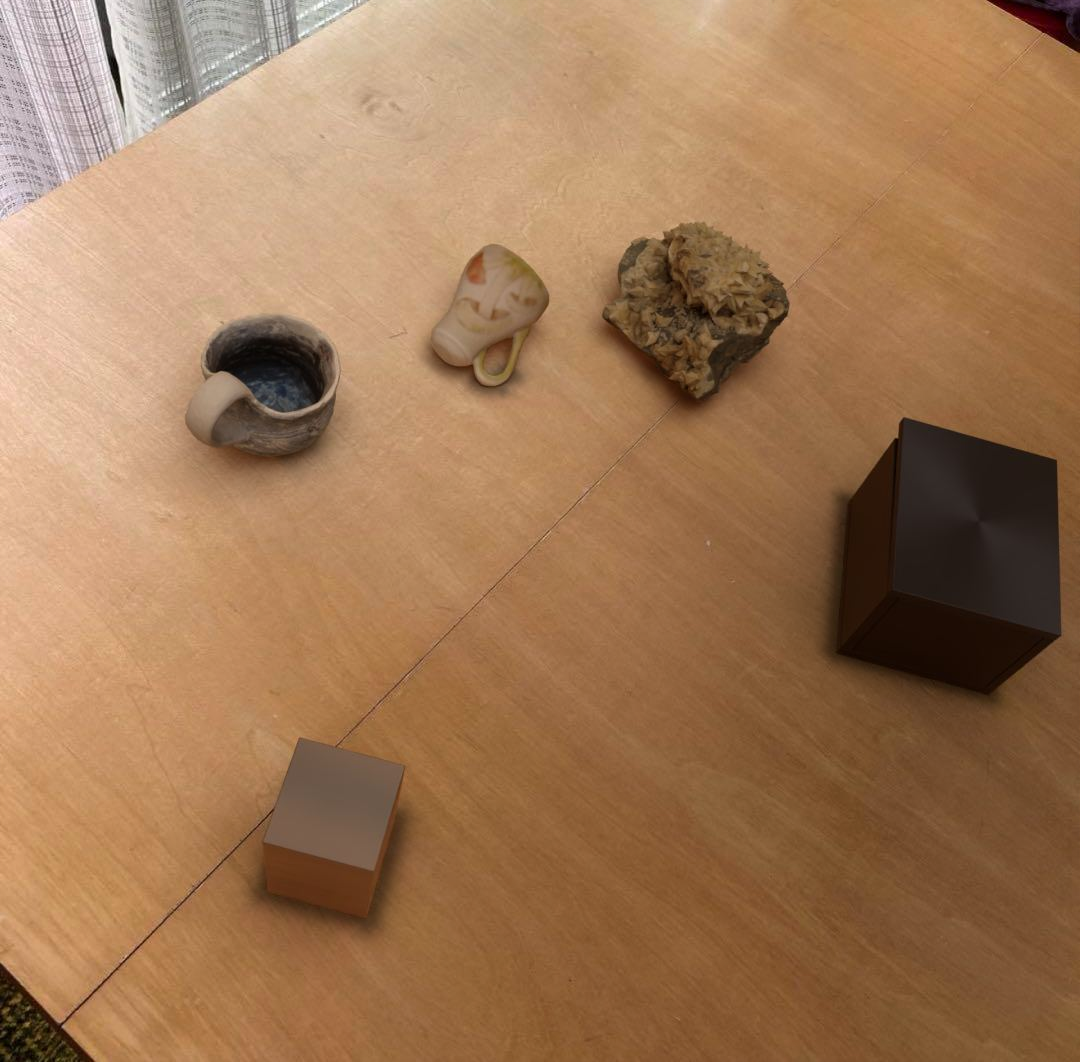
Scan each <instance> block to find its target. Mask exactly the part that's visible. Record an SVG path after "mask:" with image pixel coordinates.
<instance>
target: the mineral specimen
mask: <svg viewBox="0 0 1080 1062" xmlns="http://www.w3.org/2000/svg"><path fill="white" fill-rule="evenodd" d="M723 233H724V230H715V228H714V225H711V226H708V225H707V223H706V221H702V222H700V221H695V222H694V223H693V222H689V223H688V222H683V223H682V222H679V223H678V226H676V227H674V228H671V229H670V230H662V234H663V239H658V238H656V237H654V236H653V237H651V238H647V237H645V236H641V237H638V238H635V239H633V240H631V241H630V244H631V245H629V246H628V247H627V248H626V250H625V252H624V253H623V255H622V256H621V258H620V261H619V263H618V267H617V268H618V270H617V280H618V284H619V287H620V292H621V294H620V295H619V297H618V298H616V299H615V300H612V301H611V302H610V303H608V304H606V305H605V307H604V308H603V310H602V313H601V314H602V315H601V318H602V319H603V320H604V321H606V323H608V324H609V325H610V326H611V327H613V328H614V329H616V330H618V331H620V332H621V333H622V334H623V335H624V336H625V337H626V338H627V339H628V340H630V342H632V344H633V345H634V346H635V347H636V349H637V350H638V351H641V353H644V354H646V355H648V357H649V358H650V359H651V360H652V361H653V362H654V365H655V369H657V370H658V371H659V372H661V374H662V375H663V376H664V377H665V378H666V379H668V380H671V381H673V382H675V383H676V384H677V385H678V387H679V388H680V389H681V390H682V391H683V392H684V393H685V394H686V395H687V396H690V397H691V398H692V399H693V400H694V401H695V403H696V404H699V403H704V402H706V401H708V400H709V399H710V398H711V397H712V396H714V395H716V394H718V393H719V392H720V390H721V385H722V384H724V383H725V382H726V381H727V380H728V379H730V378H731V376H732V373H733V372H734V371H735V370H736V369H737V368H738V367H739V366H740V365H741V364H746V363H750V361H752V360H753V359H754V358H755V357H756V356H757V355H758V354H760V353H761V351H762V350H763V349H764V348H765V347H767V346H768V345H770V338H771V336H772V335H773V333H774V331H775V330H776V329H777V327H779V326H780V325H781V324H782V323H783V322H784V320H785V319H786V318H787V317H788V315H789V310H790V303H791V302H790V300H789V298H788V296H787V290H786V289H785V287H784V284H785V283H784V282H783V281H781V280H779V279H778V278H777V277H776V276H774V275H773V274H774V272H772V270H769V268H771V265H770V263H769V262H766V261H764V260H762V259H760V258H761V253H762V250H757V251H756V252H755V251H754V250H753V249H752V248H750V247H749V245H748V244H747V243H746V244H745V246H744V247H743V246H742V245H740V243H739V242H736V241H735V240H733V236H732V235H730V236H727V235H725V234H723Z"/></svg>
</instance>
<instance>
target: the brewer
mask: <svg viewBox="0 0 1080 1062" xmlns="http://www.w3.org/2000/svg"><path fill="white" fill-rule="evenodd" d="M897 447H898V437H894V439H893V440H892V441H891V443H890V444H889V445H888V447H886V449H885V451H884V452H883V454H882V455H881V456H880V458H879V460H878V461H877V462H876V464H875V465H874V466H873V467H872V469H871V471H870V472H869V473H868V474H867V476H866V477H865V479H864V480H863V482H862V483H861V484H860V486H859V487H858V488H857V490H856V491H855V493H853V495H852V497H851V498H850V499H849V501H848V502H847V511H846V521H845V523H846V524H845V537H844V538H845V539H844V548H843V563H842V576H841V588H840V600H839V601H840V603H839V614H838V616H839V617H838V630H837V641H836V654H838V655H842V656H846V657H849V658H853V659H856V660H861V661H864V662H868V663H871V664H874V665H879V666H883V667H886V668H889V669H893V670H897V671H901V672H905V673H909V674H911V675H915V676H919V677H923V678H926V679H930V680H934V681H937V682H940V683H941V682H942V683H945V684H949V685H952V686H955V687H959V688H963V689H967V690H970V691H974V692H977V693H980V694H984V695H991V694H992V693H994V691H996V690H997V689H998V688H999V687H1000V686H1001V685H1003V684H1004V683H1006V681H1008V680H1009V679H1010V678H1011V677H1012V676H1014V675H1015V674H1017V673H1018V672H1019V671H1020V670H1021V669H1022V668H1024V667H1025V666H1026V665H1027V664H1029V663H1030V662H1031V661H1032V660H1033V659H1035V658H1036V657H1037V656H1038V655H1039V654H1041V653H1042V652H1043V651H1044V650H1046V649H1047V648H1048V647H1049V646H1051V645H1052V644H1053V643H1054V642H1055V641H1054V640H1051V639H1047V638H1043V637H1040V636H1036V635H1033V634H1029V633H1025V632H1022V631H1018V630H1014V629H1011V628H1007V627H1003V626H1000V625H996V624H993V623H989V622H985V621H982V620H978V619H974V618H971V617H967V616H963V615H960V614H956V613H953V612H949V611H945V610H942V609H938V608H934V607H931V606H927V605H923V604H920V603H916V602H913V601H909V600H905V599H902V598H898V597H894V596H891V595H888V585H889V570H890V554H891V539H892V524H893V508H894V493H895V478H896V462H897Z"/></svg>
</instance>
